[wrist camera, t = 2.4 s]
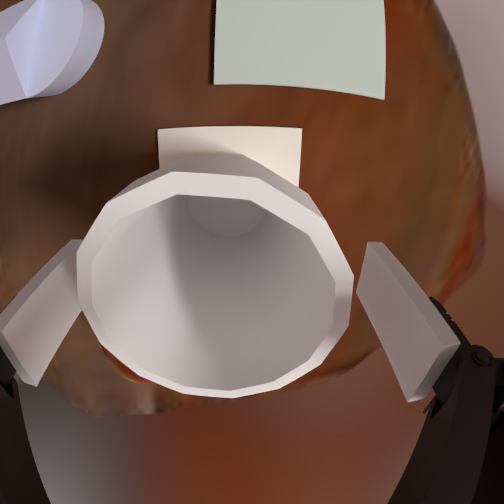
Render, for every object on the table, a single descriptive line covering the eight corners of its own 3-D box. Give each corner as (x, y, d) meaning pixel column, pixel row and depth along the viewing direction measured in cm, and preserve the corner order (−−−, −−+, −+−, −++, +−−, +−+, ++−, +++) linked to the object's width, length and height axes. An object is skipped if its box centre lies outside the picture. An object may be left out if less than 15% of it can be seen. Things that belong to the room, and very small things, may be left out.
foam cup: (154, 142, 18) (38, 204, 7) (286, 122, 18) (357, 151, 7) (181, 259, 23) (136, 397, 11) (296, 246, 22) (338, 385, 11)
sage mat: (220, -50, 11) (220, -53, 11) (378, -30, 11) (380, -32, 11) (214, 84, 17) (213, 84, 16) (381, 99, 17) (384, 99, 17)
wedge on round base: (-8, 109, 15) (95, 90, 16) (-57, 121, 9) (42, 91, 10) (4, 24, 11) (114, -12, 12) (-42, 21, 5) (73, -41, 6)
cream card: (158, 129, 18) (157, 129, 18) (301, 128, 18) (302, 128, 18) (168, 254, 23) (168, 255, 23) (291, 255, 23) (292, 256, 23)
